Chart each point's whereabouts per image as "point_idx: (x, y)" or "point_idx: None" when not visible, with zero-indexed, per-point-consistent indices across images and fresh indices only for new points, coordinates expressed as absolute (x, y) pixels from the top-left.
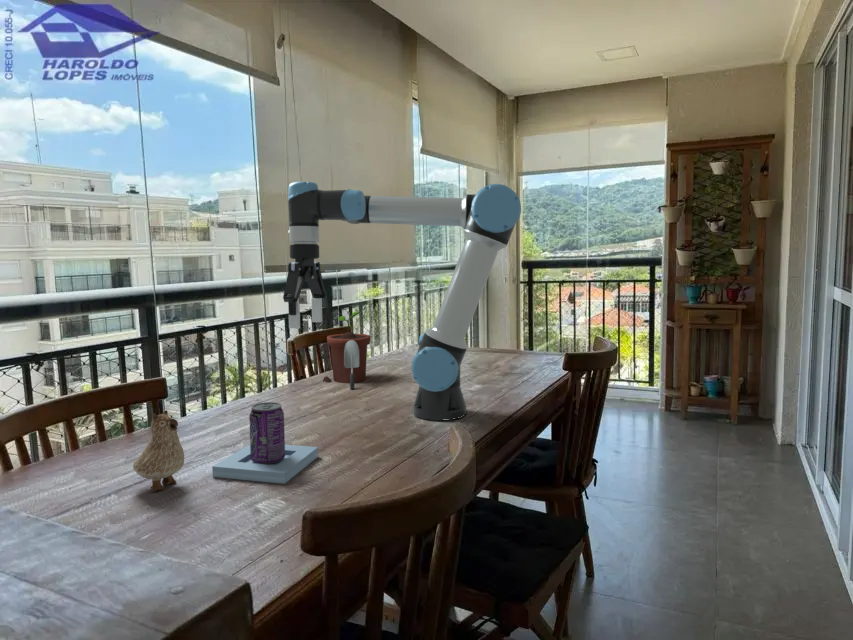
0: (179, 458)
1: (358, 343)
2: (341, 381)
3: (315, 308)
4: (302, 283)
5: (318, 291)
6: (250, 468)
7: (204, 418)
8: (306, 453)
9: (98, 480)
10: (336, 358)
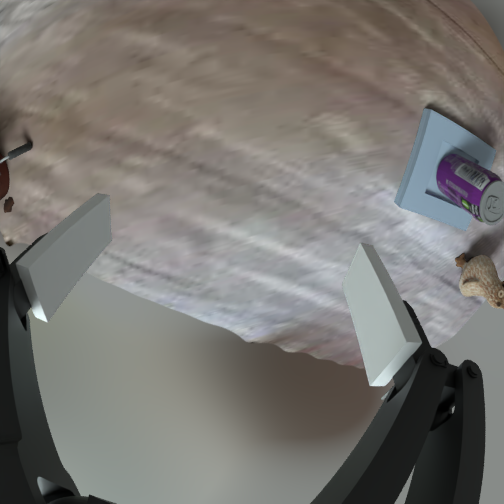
0: (491, 260)
1: None
2: (8, 180)
3: (73, 261)
4: (374, 486)
5: (9, 318)
6: None
7: (230, 309)
8: (451, 125)
9: (433, 314)
10: None
